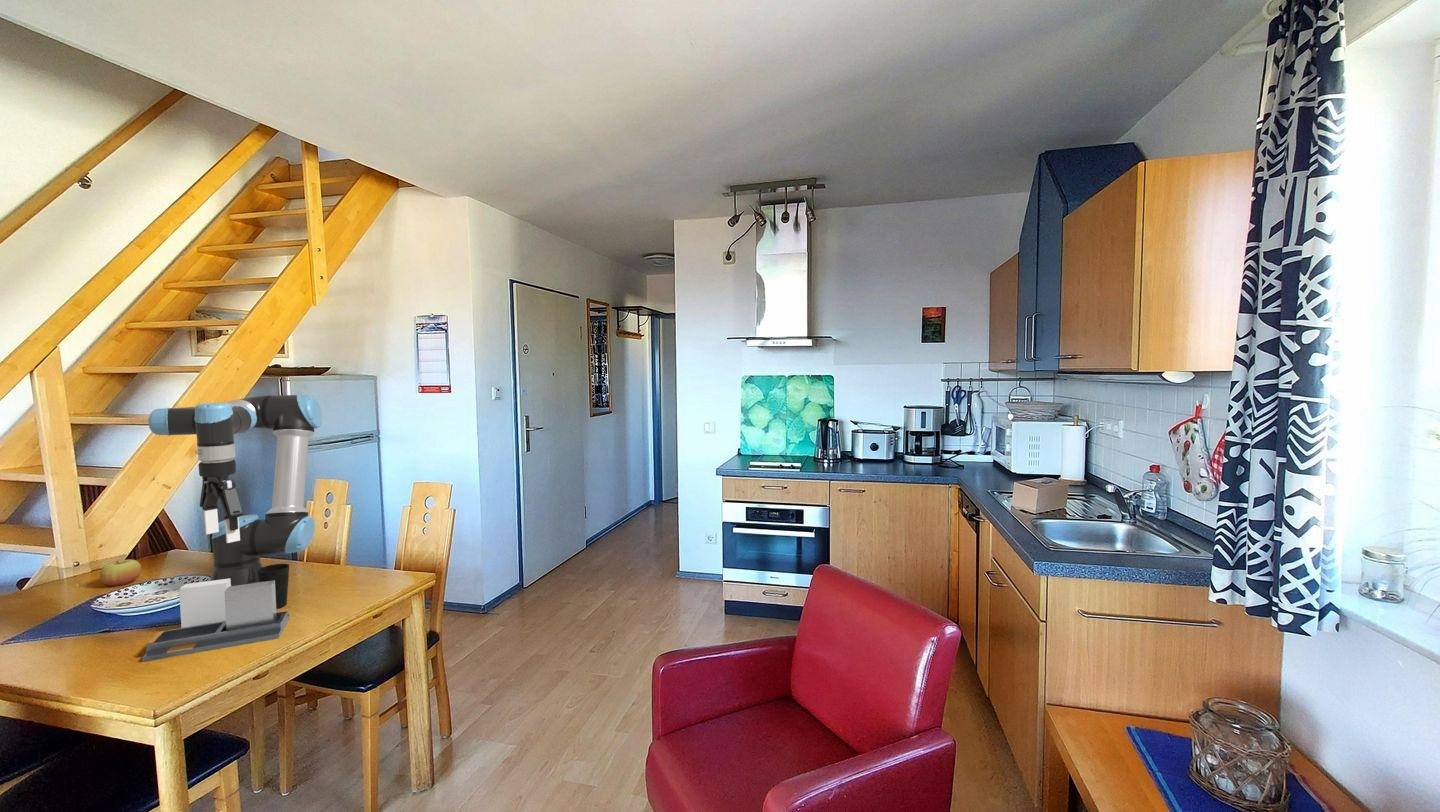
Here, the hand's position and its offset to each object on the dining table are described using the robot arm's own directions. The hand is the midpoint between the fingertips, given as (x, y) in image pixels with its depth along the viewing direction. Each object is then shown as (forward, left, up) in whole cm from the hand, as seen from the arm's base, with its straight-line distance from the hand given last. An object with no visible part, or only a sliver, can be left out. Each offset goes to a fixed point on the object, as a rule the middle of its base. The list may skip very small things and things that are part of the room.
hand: (222, 537), depth 155 cm
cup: (-14, +8, -27) cm, 31 cm away
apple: (-61, -42, -27) cm, 79 cm away
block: (-7, -6, -26) cm, 28 cm away
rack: (+5, 0, -26) cm, 27 cm away
